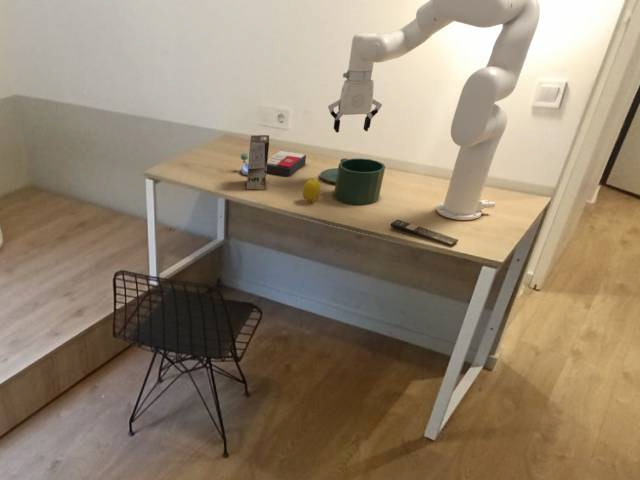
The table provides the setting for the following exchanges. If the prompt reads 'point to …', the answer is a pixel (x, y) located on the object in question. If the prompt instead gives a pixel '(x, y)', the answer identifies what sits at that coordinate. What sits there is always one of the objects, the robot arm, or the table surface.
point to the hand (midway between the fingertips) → (351, 130)
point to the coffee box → (258, 161)
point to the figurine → (245, 167)
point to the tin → (359, 181)
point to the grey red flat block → (285, 163)
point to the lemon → (311, 190)
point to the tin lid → (330, 174)
